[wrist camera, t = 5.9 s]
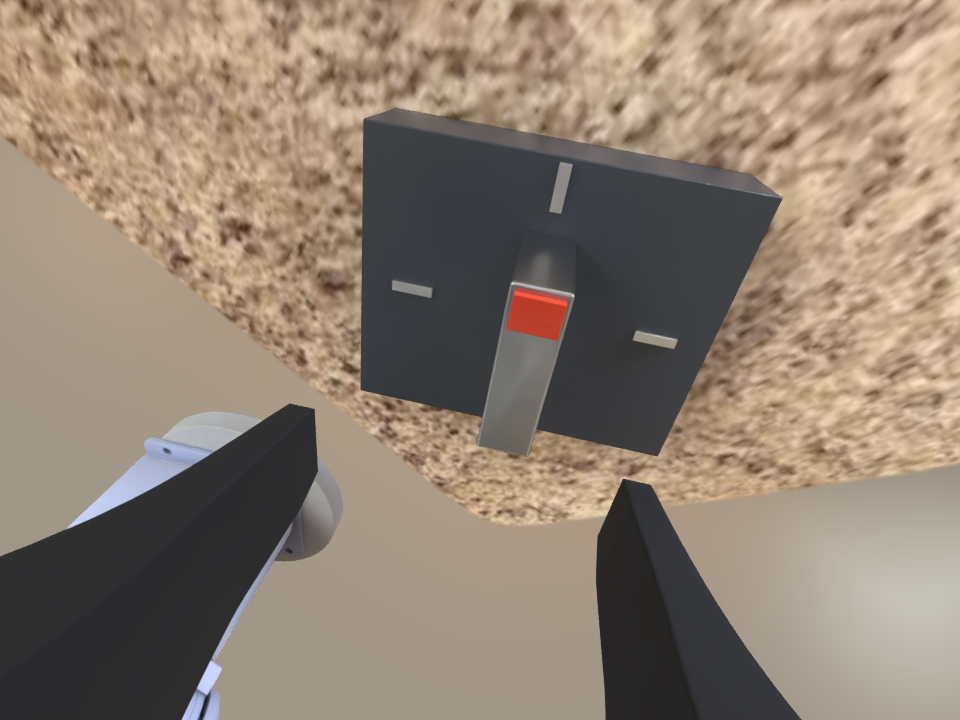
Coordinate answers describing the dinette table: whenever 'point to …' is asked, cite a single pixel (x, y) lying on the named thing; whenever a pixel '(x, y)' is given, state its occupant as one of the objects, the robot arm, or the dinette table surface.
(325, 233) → the dinette table surface
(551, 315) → the tap handle
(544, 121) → the dinette table surface
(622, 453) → the dinette table surface
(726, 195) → the block
